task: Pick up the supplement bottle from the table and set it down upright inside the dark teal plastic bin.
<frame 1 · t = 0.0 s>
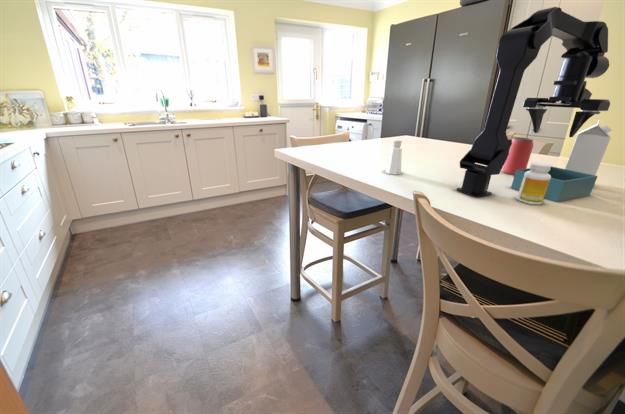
hand: (552, 134, 84), 15 cm above the table, tool pointing down, fingers open, 9 cm apart
salt shaker: (393, 173, 97), on the table
milk carton: (574, 184, 89), on the table
supplement bottle: (528, 201, 73), on the table
bin: (549, 191, 81), on the table
beer can: (512, 173, 99), on the table
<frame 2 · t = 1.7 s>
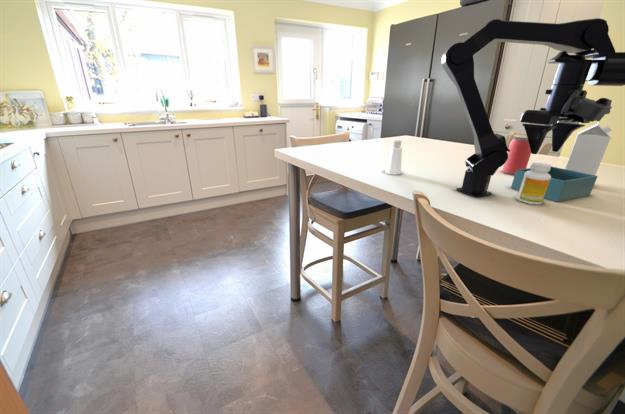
hand: (544, 152, 71), 12 cm above the table, tool pointing down, fingers open, 9 cm apart
nothing on the table moved.
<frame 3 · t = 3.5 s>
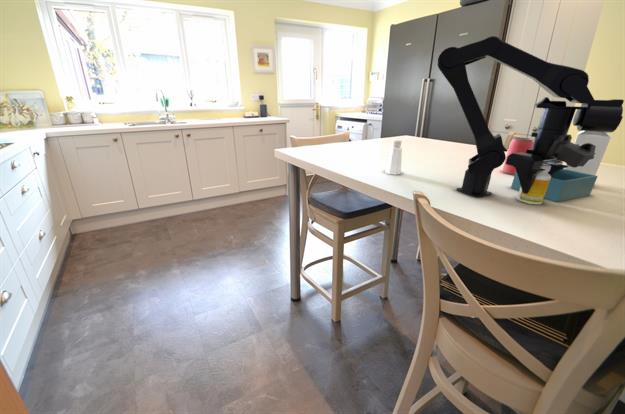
hand: (532, 191, 72), 3 cm above the table, tool pointing down, fingers closed on supplement bottle, 5 cm apart
supplement bottle: (528, 201, 73), on the table, touching gripper
everything else where it was.
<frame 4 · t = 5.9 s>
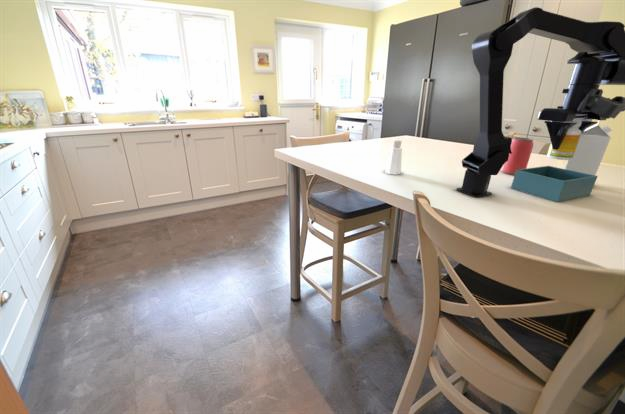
hand: (561, 148, 75), 12 cm above the table, tool pointing down, fingers closed on supplement bottle, 5 cm apart
supplement bottle: (558, 158, 76), point 10 cm above the table, touching gripper
everything else where it was.
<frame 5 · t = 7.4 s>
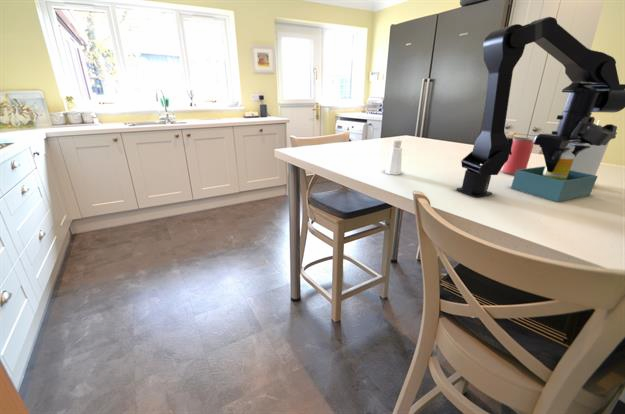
hand: (556, 171, 79), 6 cm above the table, tool pointing down, fingers closed on supplement bottle, 5 cm apart
supplement bottle: (553, 180, 80), point 3 cm above the table, touching gripper
everything else where it was.
when the fingers open (3 cm above the table, at t = 8.7 s): supplement bottle stays where it is, resting on bin.
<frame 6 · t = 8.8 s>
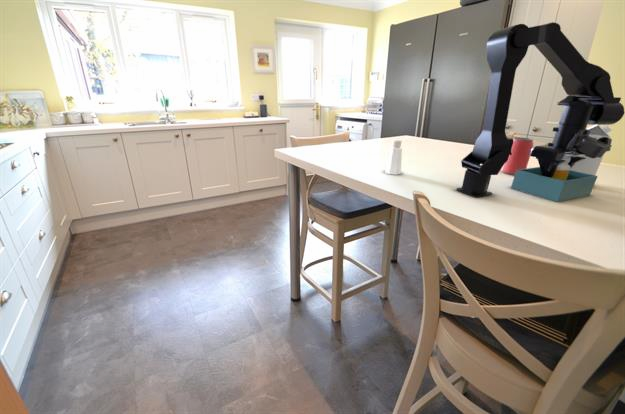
hand: (552, 181, 80), 3 cm above the table, tool pointing down, fingers open, 5 cm apart
supplement bottle: (549, 190, 81), resting on bin
everything else where it was.
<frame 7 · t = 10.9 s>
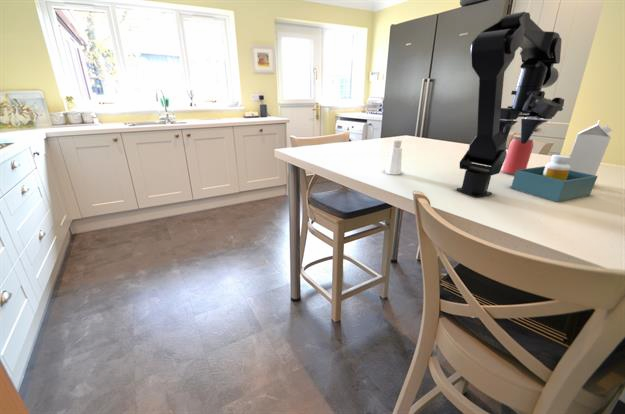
hand: (512, 144, 84), 12 cm above the table, tool pointing down, fingers open, 9 cm apart
nothing on the table moved.
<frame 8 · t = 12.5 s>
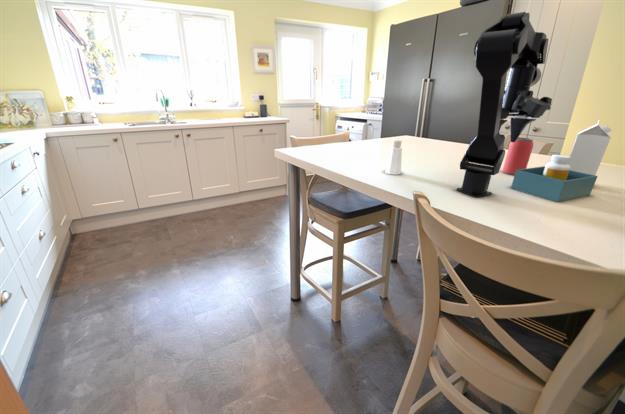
hand: (502, 142, 85), 12 cm above the table, tool pointing down, fingers open, 9 cm apart
nothing on the table moved.
at the end: supplement bottle inside the target area in the bin (0.1 cm from its centre), point 0.3 cm above the bin's base; supplement bottle tilted 0°; the gripper is holding nothing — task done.
